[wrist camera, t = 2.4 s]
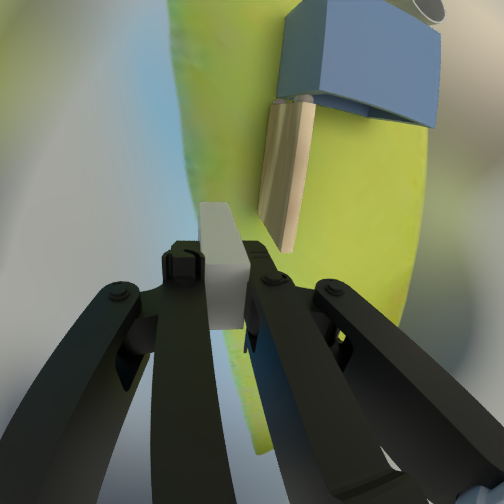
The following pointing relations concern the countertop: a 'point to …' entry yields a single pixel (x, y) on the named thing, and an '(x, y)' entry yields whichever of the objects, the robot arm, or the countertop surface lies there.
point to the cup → (422, 9)
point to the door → (285, 168)
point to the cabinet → (362, 60)
